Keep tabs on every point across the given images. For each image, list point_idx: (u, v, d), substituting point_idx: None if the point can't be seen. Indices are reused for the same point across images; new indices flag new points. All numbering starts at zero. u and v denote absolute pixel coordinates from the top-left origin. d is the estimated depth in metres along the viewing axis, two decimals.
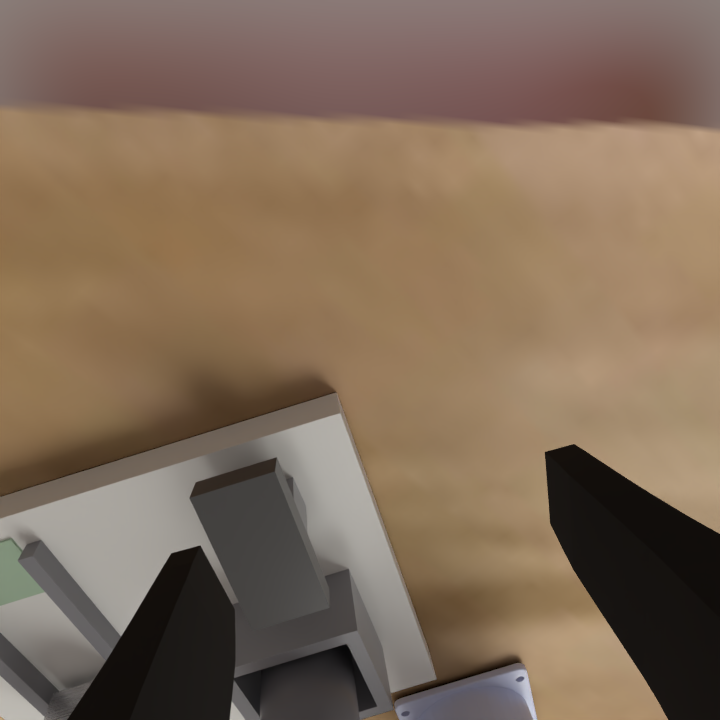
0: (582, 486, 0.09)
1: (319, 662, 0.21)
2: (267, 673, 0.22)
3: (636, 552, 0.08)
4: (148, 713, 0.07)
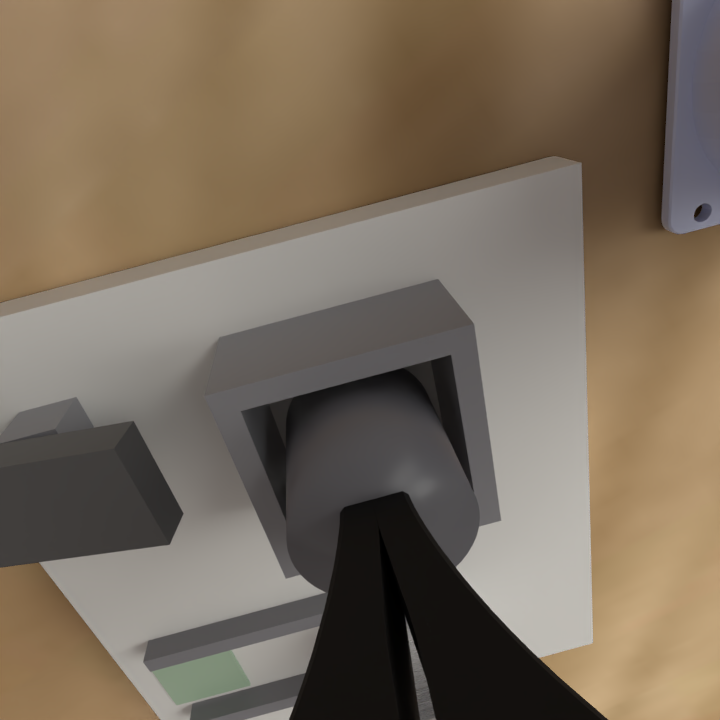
0: (383, 540, 0.09)
1: (288, 437, 0.13)
2: None
3: (408, 614, 0.08)
4: (391, 647, 0.07)
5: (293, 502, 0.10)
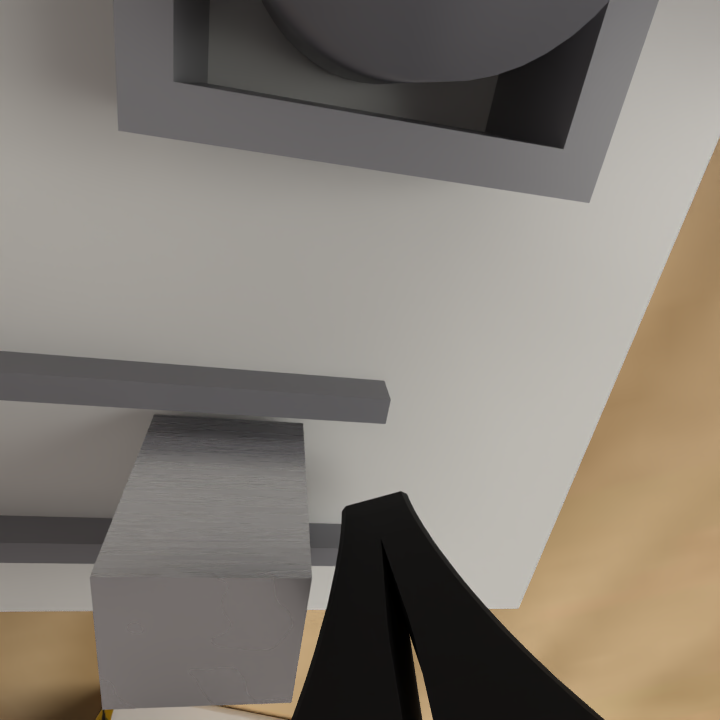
0: (381, 540, 0.09)
1: None
2: None
3: (406, 614, 0.08)
4: (393, 646, 0.07)
5: None
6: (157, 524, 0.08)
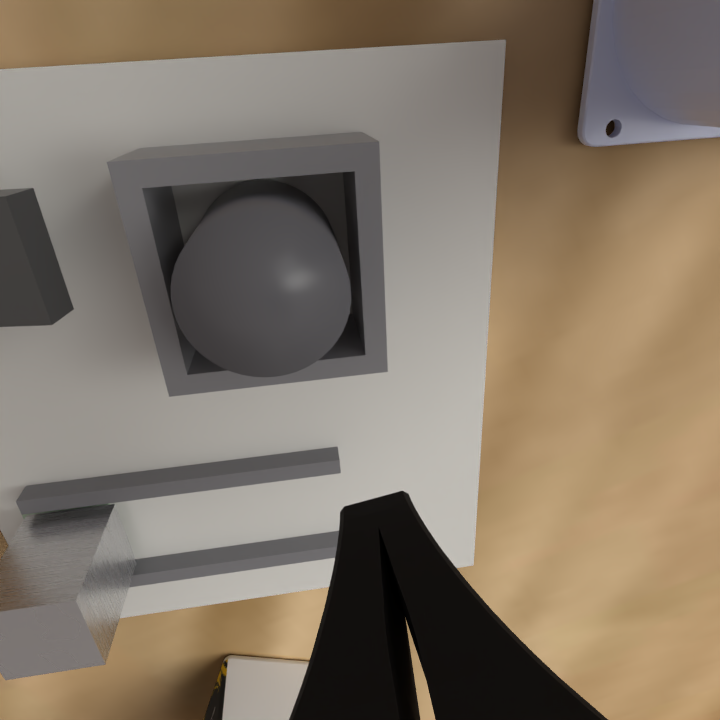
0: (383, 540, 0.09)
1: None
2: None
3: (408, 614, 0.08)
4: (391, 647, 0.07)
5: (182, 249, 0.11)
6: (6, 583, 0.16)
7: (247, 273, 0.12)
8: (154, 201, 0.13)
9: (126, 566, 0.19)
